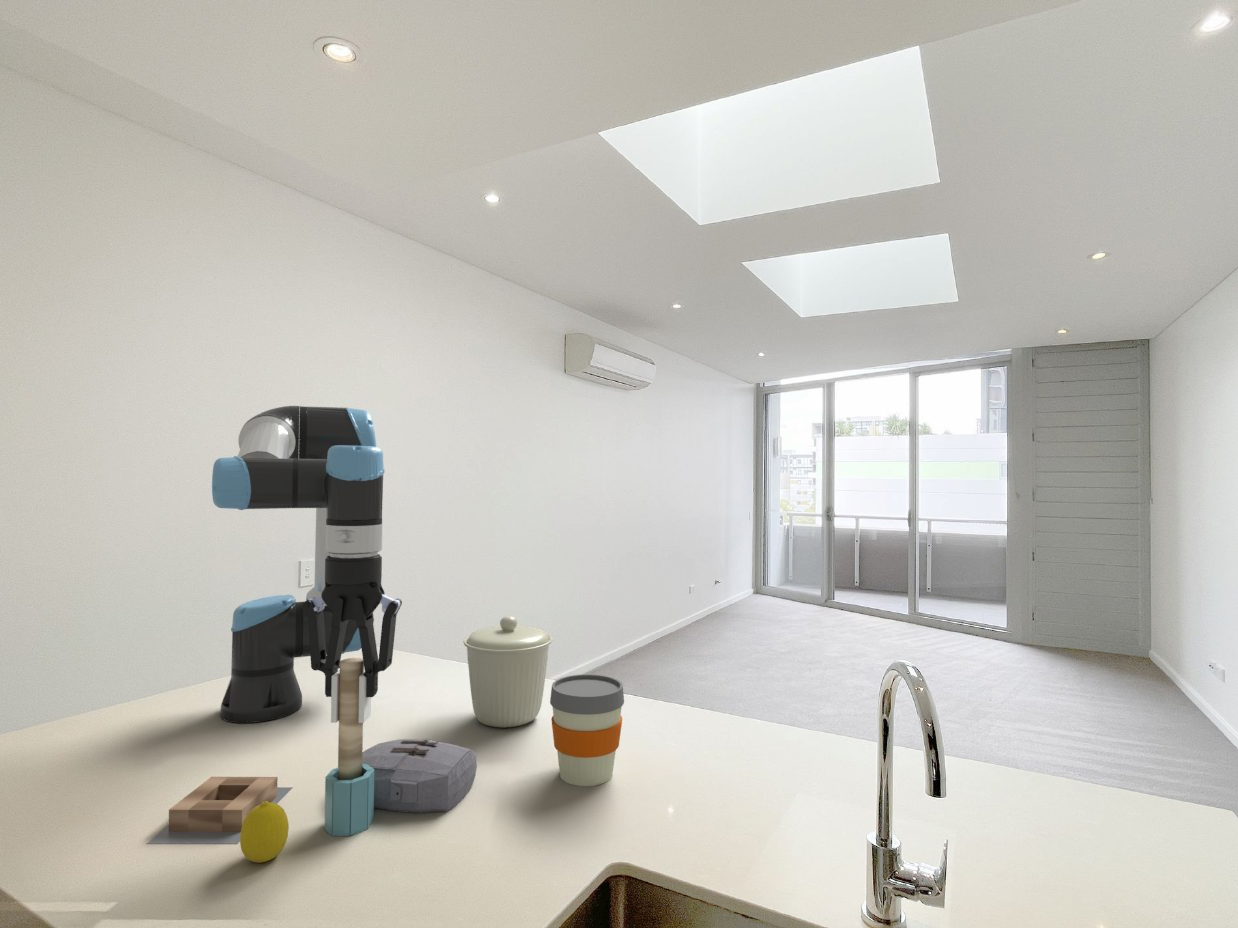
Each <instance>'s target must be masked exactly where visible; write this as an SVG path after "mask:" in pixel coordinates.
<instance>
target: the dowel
mask: <svg viewBox="0 0 1238 928" xmlns="http://www.w3.org/2000/svg"><path fill="white" fill-rule="evenodd" d="M339 666H340V668H339V670H340V684H339V721H338V739H337V740H338V744H337V745H338V747H337V748H338V749H337V750H338V751H337V768H338V780H353V779H356V778H359V777H362V752H363V742H364V741H363V739H364V735H363V734H364V726H363V725H364V723H359V676H360V675H362V674H363V673H364V672H365V669H364V662H363V657H362V658H361V657H349V658H348V657H347V658H344V659H342V660H340V665H339Z"/></svg>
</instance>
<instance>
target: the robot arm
mask: <svg viewBox="0 0 1238 928" xmlns="http://www.w3.org/2000/svg"><path fill="white" fill-rule="evenodd" d="M376 438H377V437H376V432H375V427H374V421H373V417H372V415H371V413H370V412H368V411H367V410H364V409H357V408H349V407H336V406H335V407H331V406H330V407H329V406H328V407H327V406H300V405H286V406H280V407H275V408H271V409H268V410H265V411H263V412H260V413H258V414H256V415H254V416H253V417H251V418H250V419H248V420H247V421H246V422H245V423H244V424H243V426H242V428H241V430H240V431H239V434H238V441H237V443H238V448H239V452H238V454H237V456H235V455H234V456H233V457H231V456H230V457H218V458H217V459H216V460H215V461H214V463H213V467H212V477H211V478H212V479H211V493H212V494H211V495H212V502H213V504H214V505H215V506H216V507H217V508H219V509H232V510H233V509H235V510H239V511H244V510H264V509H265V510H269V509H277V510H278V509H315V538H314V539H315V544H314V545H315V548H314V584H313V585H314V586H313V587H312V588H311V589H309V590H308V591H307V592H306V599H305V601H297V600H296V598H295V596H294V595H292V594H283V595H282V594H280V595H279V594H277V595H273V596H272V595H271V596H266V597H261V598H257V599H253V600H249V601H246V602H244V603H241V604H240V605H238V606H237V607H236V608H235V609H234V611H233V614H232V626H231V628H230V631H231V633H232V636H231V637H232V639H231V666H230V667H231V671H230V675H231V676H230V679H229V681H228V684H227V688H226V690H225V693H224V696H223V699H222V701H221V704H220V717H221V719H222V720H224V721H226V722H229V723H238V724H239V723H242V724H246V723H247V724H249V723H260V722H265V721H266V722H267V721H272V720H276V719H281V718H283V717H287V716H289V715H291V714H293V713H296V712H298V711H299V709H300V710H301V708H302V706H303V694H302V690H301V688H300V685H299V682H298V679H297V676H296V673H295V670H294V669H295V667H294V664H295V663H294V661H295V658H304V657H310V667H311V670H313V671H319V672H321V673H323V674H324V694H325V697H326V698H331V699H330V704H331V705H330V707H331V708H330V723H331V724H332V723H335V724H336V723H337V722H339V684H340V661H341V658H342V654H343V655H344V654H346V653H350V652H357V651H360V650H361V653H362V654H361V655H362V659H363V662H364V673H363V674H362V675H360V676H359V723H363V724H364V723H365V722H367V720H368V719H369V718H371V715H372V713H371V711H372V698H374V697H375V696H376V694H377V693H378V690H379V689H378V688H379V687H378V686H379V673H380V672H384V671H385V670H387V669H388V668H389V667H390V666H391V665H392V663H393V655H394V654H393V653H394V646H395V645H394V644H395V633H396V625H397V624H396V622H397V616H398V613H399V611H400V609H401V606H403V605H402V604H403V601H402V599H401V598H392V597H390V596H388V595H386V594H385V590H384V588H383V585H382V576H383V575H382V568H383V567H382V566H383V563H382V562H383V557H382V556H381V554H380V553H379V552H381V551H382V550H383V497H384V496H383V495H384V494H383V493H384V474H385V466H384V453H383V450H382V449H381V448H380V447H378V446H377V440H376ZM380 604H381V612H382V613H383V616H382V621H381V623H382V624H381V632H380V643H379V651H378V649H377V648H378V647H377V641H376V634H375V627H374V622H375V618H374V612H375V610H376V609H377V608H378V606H379V605H380Z"/></svg>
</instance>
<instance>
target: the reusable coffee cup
mask: <svg viewBox="0 0 1238 928" xmlns="http://www.w3.org/2000/svg"><path fill="white" fill-rule="evenodd" d="M549 699H550V700H549V703H550V705H551V707H552V717H551V728H552V736H553V739H552V740H553V746H554V748H555V750H556V751H557V752H556V753H557V761H558V770H559V777H560V779H561V780H562V781H563V780H564V781H563V782H565V783H567V784H570V785H572V786H579V787H594V786H599V785H602V784H604V783H607V782H608V781H610V780H611V779H612V778H613V772H614V765H615V759H616V752H617V751H616V750H617V749H618V748H619V746H620V740H621V731H622V723H623V716H622V715H621V714H622V707H623V706H624V703H625V696H624V685H623V683H622V682H621V681H620V680H619V679H617V678H615V677H612V676H608V675H603V674H602V675H601V674H590V673H588V674H587V673H585V674H584V673H583V674H573V675H568V676H564V677H563V676H562V677H560V678H558V679H556V680H555V681H554V682H552V684H551V691H550V698H549Z"/></svg>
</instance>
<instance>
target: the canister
mask: <svg viewBox="0 0 1238 928" xmlns="http://www.w3.org/2000/svg"><path fill="white" fill-rule="evenodd" d="M552 641H553V637H552V635H551V634H549V633H547V632H546V631H544V630H543V629H540V628H538V627H534V626H528V625H521V624H518V620H517V618H516V617H514V616H512V615H506V616H503V617H502V618H501V619H500V621H499V625H494V626H488V627H484V628H480V629H477V630H475V631H473V632H472V633H471V634H470V635H467V636H466V637H464V639H463V642H462V644H463V645H464V646H465V647H466V651H467V652H466V654H467V666H468V674H469V686H470V695H471V703H472V710H473V713H474V716H475V717H476V719H477V720H478V721H479V723H481V724H484V725H485V726H486V725H487V726H489V727H494V728H514V727H519V726H524V725H526V724H528V723H530V722H532V721H533V720H535V719H536V717H537V716H538V715H539V713H540V711H541V707H542V702H543V697H544V691H545V690H544V689H545V682H546V674H547V665H548V658H549V657H548V656H549V648H550V645H551V644H552Z"/></svg>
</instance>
